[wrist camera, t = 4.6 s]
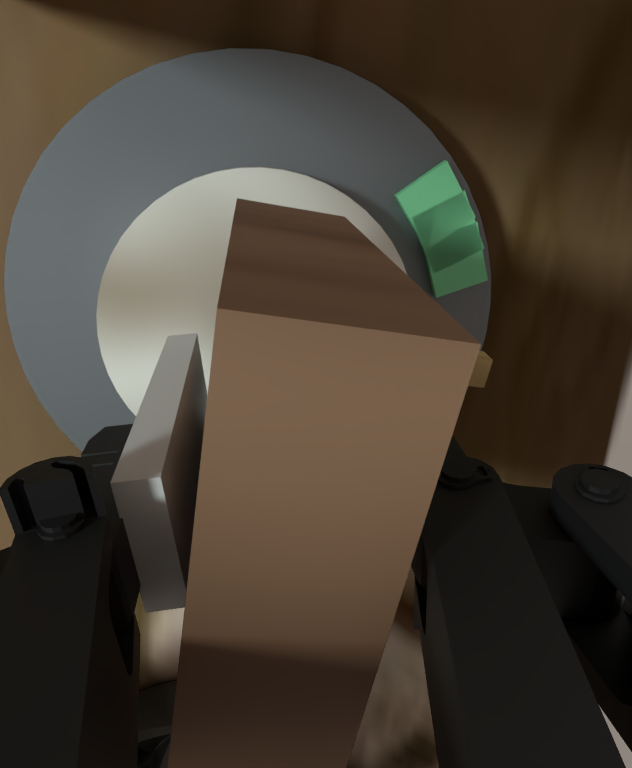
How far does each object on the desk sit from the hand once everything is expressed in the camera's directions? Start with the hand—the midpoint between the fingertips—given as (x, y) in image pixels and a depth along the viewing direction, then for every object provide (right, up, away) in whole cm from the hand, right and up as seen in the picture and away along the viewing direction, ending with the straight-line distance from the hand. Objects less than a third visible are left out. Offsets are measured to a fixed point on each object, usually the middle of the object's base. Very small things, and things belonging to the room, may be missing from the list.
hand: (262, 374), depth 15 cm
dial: (+1, +1, +4) cm, 4 cm away
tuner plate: (-1, +2, +5) cm, 6 cm away
